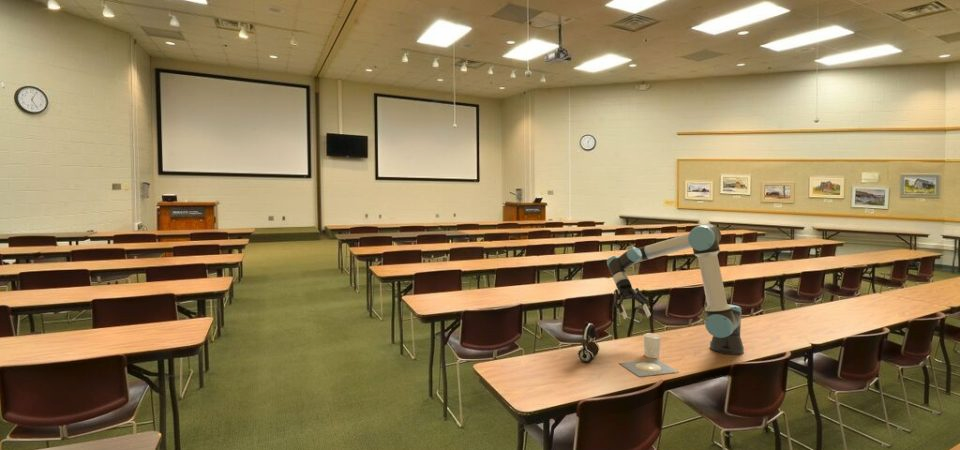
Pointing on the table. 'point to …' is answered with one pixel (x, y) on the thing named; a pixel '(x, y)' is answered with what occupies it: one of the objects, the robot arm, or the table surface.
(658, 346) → the white cup
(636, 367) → the card
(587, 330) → the headset
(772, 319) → the table surface
